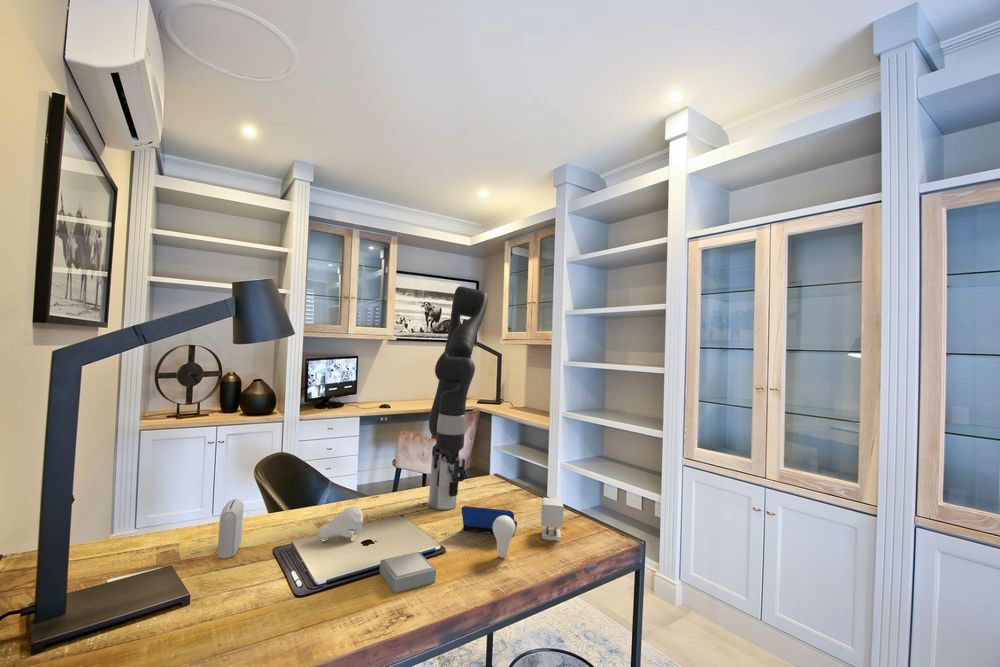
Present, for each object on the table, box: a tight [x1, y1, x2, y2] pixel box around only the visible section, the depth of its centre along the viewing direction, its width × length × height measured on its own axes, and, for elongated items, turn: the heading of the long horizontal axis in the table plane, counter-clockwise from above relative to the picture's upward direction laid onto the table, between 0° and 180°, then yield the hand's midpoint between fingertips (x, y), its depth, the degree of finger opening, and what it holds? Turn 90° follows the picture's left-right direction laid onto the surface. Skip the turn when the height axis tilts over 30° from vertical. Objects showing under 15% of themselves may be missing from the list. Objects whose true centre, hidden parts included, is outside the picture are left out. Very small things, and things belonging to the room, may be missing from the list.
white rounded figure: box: [317, 506, 364, 542], centre depth 126 cm, size 6×8×12 cm
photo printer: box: [217, 498, 244, 559], centre depth 116 cm, size 10×4×12 cm, turn 20°
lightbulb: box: [492, 515, 516, 559], centre depth 121 cm, size 6×6×11 cm
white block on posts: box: [540, 497, 564, 542], centre depth 136 cm, size 6×7×10 cm
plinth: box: [379, 551, 437, 594], centre depth 108 cm, size 10×10×3 cm
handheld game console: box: [461, 505, 518, 537], centre depth 138 cm, size 16×13×9 cm
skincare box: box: [437, 459, 454, 509], centre depth 123 cm, size 6×4×12 cm
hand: (446, 490), depth 123 cm, fingers closed on skincare box, 7 cm apart
